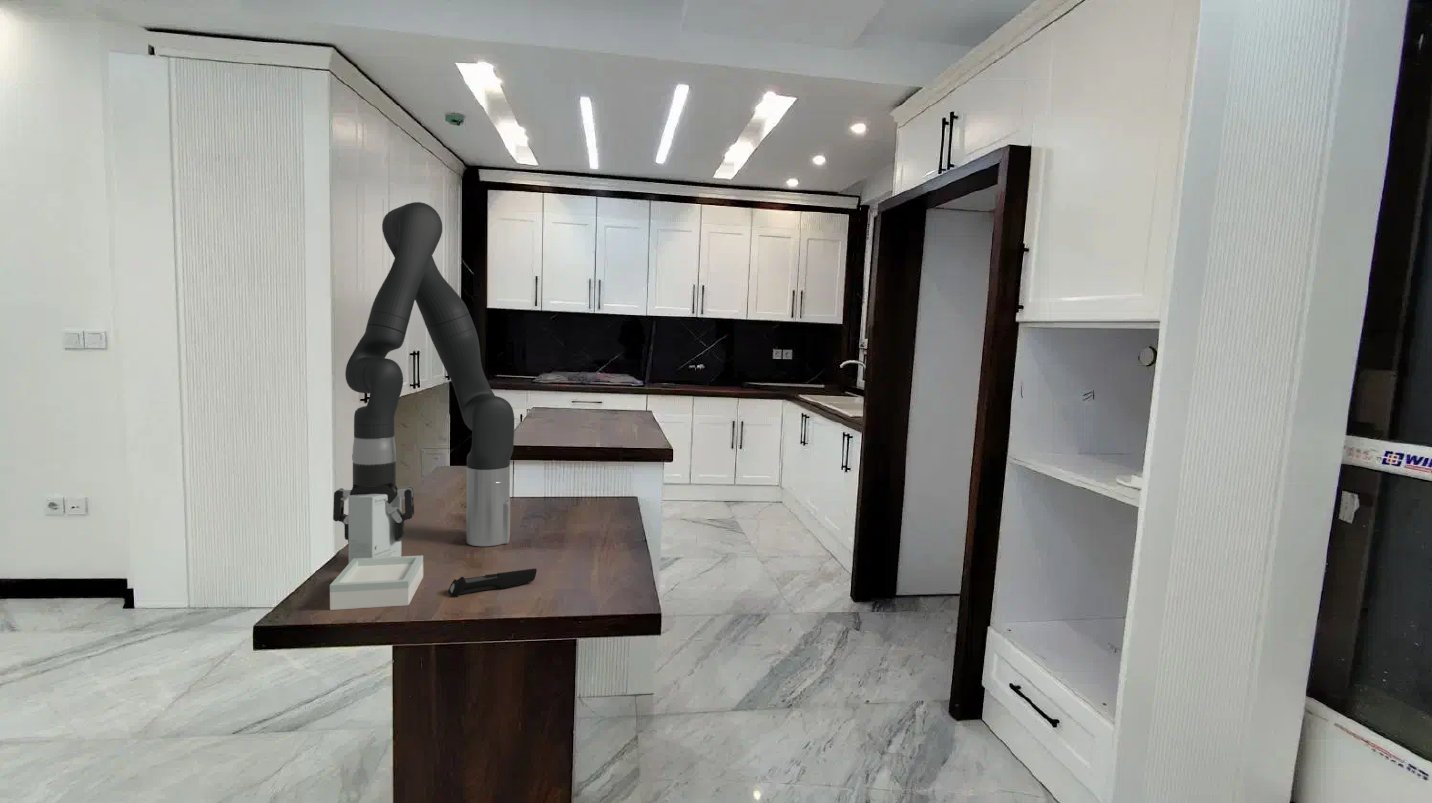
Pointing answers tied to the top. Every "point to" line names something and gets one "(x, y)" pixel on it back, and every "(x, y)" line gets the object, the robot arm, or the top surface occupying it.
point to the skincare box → (372, 527)
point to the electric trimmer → (491, 581)
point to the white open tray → (377, 582)
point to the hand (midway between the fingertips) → (374, 540)
